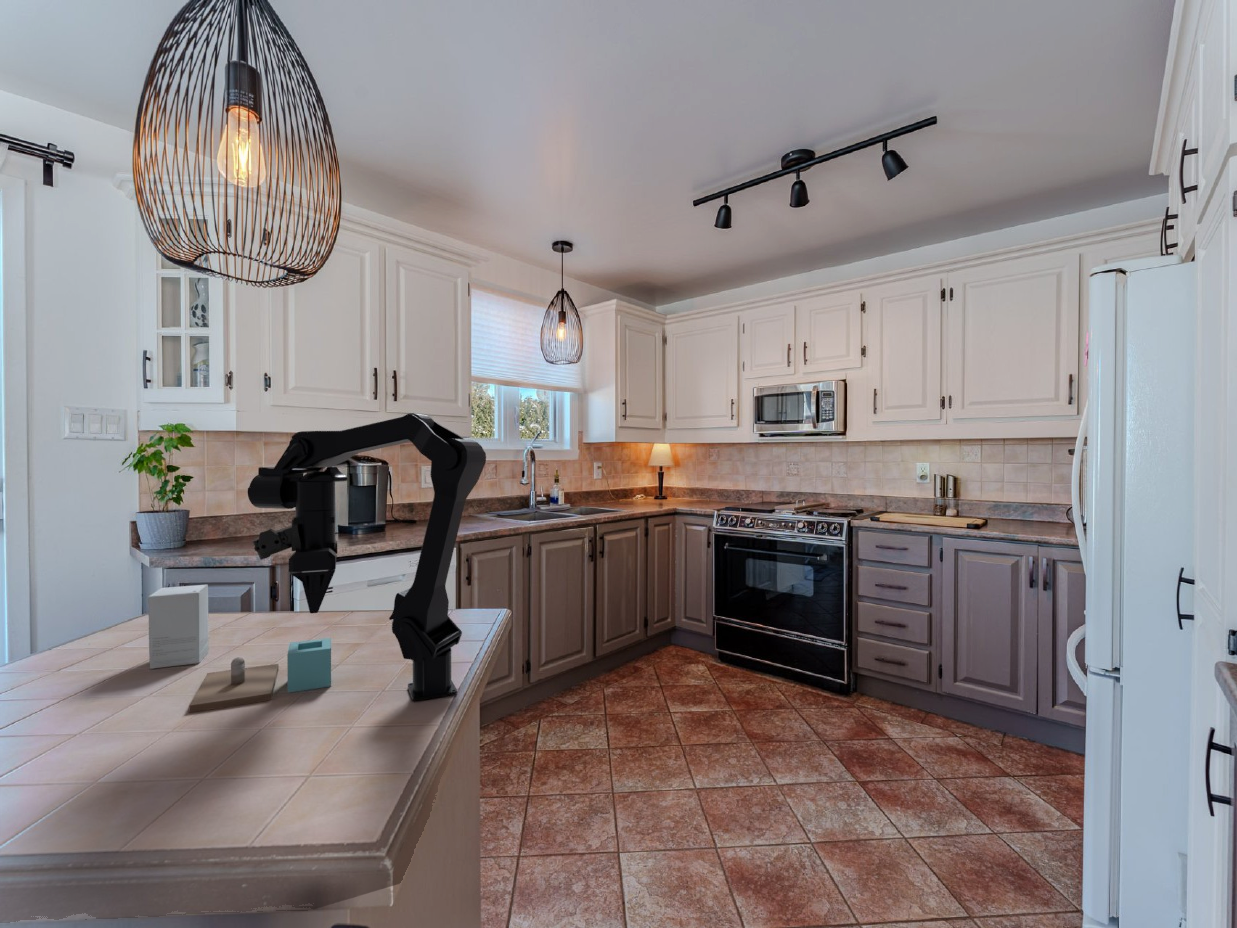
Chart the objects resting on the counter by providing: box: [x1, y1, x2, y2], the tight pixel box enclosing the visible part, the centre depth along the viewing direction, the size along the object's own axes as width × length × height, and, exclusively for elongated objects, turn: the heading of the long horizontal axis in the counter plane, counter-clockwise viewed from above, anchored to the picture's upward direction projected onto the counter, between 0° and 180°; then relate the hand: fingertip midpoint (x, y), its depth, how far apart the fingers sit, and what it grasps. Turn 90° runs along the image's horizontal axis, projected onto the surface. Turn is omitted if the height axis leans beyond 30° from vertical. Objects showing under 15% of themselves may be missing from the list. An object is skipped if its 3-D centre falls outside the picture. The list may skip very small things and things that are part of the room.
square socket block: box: [286, 637, 332, 694], centre depth 94 cm, size 6×6×6 cm
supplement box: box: [147, 584, 210, 670], centre depth 104 cm, size 7×7×13 cm
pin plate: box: [188, 657, 279, 713], centre depth 91 cm, size 14×10×5 cm
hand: (315, 606), depth 95 cm, fingers open, 9 cm apart
